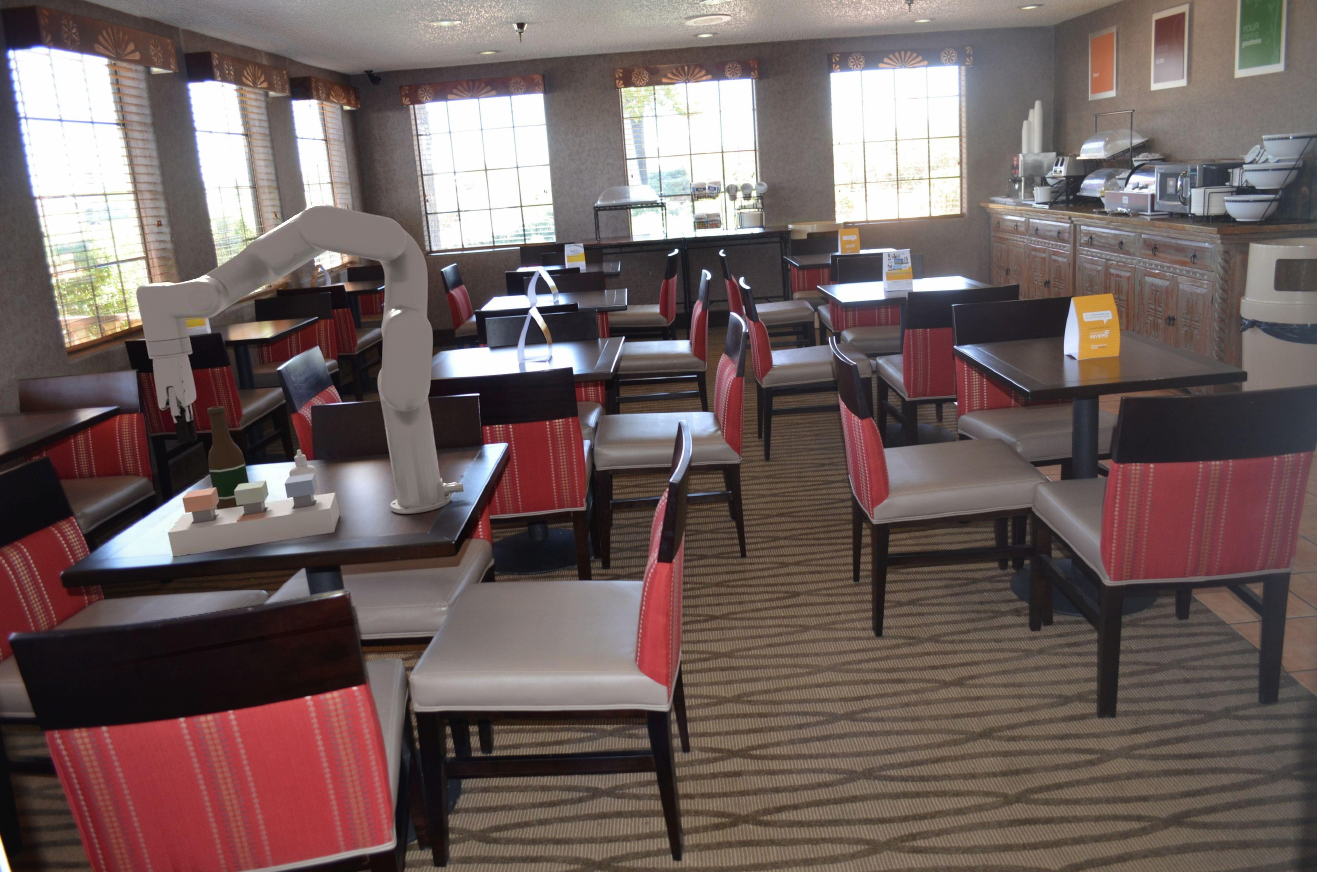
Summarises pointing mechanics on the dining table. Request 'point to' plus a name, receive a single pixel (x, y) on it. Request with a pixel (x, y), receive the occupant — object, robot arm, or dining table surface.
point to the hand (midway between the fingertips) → (188, 441)
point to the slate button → (301, 490)
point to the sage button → (252, 497)
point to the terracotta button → (201, 504)
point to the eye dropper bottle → (304, 469)
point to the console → (254, 526)
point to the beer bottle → (224, 460)
